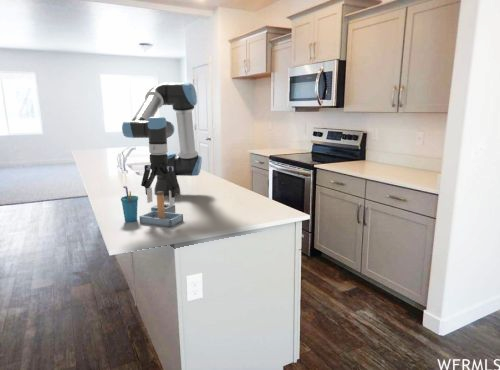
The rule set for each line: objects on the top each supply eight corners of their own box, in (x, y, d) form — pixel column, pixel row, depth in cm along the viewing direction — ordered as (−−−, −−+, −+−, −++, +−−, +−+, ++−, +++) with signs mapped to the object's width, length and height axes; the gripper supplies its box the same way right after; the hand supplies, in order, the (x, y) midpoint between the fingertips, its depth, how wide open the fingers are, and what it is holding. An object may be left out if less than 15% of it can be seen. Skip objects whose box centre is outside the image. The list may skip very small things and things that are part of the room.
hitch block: (151, 215, 170) (151, 207, 169) (161, 211, 177) (161, 203, 176) (165, 217, 167) (165, 209, 166) (175, 213, 174) (175, 205, 173)
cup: (117, 217, 167) (115, 185, 164) (134, 214, 171) (132, 184, 168) (126, 225, 155) (123, 191, 152) (144, 222, 160) (142, 189, 157)
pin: (156, 221, 160) (155, 192, 157) (160, 219, 163) (159, 191, 160) (162, 221, 159) (160, 193, 156) (166, 219, 161) (165, 191, 158)
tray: (139, 222, 159) (139, 216, 158) (153, 216, 168) (153, 210, 168) (170, 227, 153) (170, 220, 153) (183, 220, 162) (183, 214, 162)
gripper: (130, 153, 155) (133, 202, 160) (177, 156, 147) (178, 208, 151) (141, 151, 162) (144, 198, 167) (186, 154, 154) (188, 203, 158)
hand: (160, 203), depth 159 cm, fingers open, 11 cm apart
